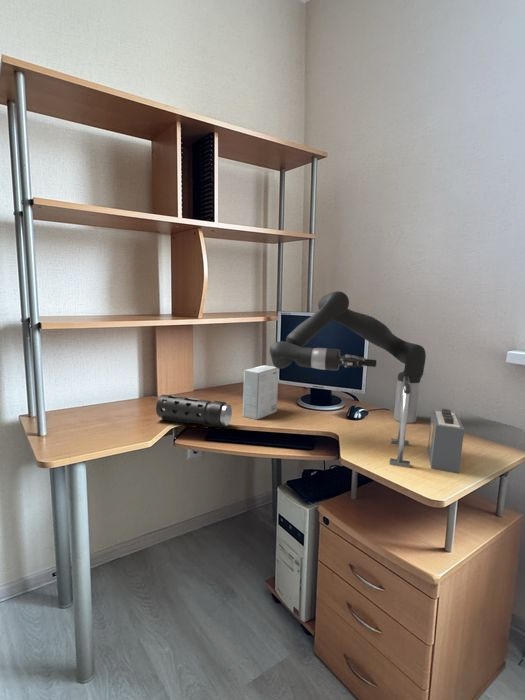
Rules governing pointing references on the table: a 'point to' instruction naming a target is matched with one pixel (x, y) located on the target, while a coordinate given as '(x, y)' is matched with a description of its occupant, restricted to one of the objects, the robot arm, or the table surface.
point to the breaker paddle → (431, 434)
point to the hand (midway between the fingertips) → (376, 363)
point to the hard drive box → (260, 391)
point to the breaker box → (446, 441)
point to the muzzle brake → (194, 411)
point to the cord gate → (402, 427)
